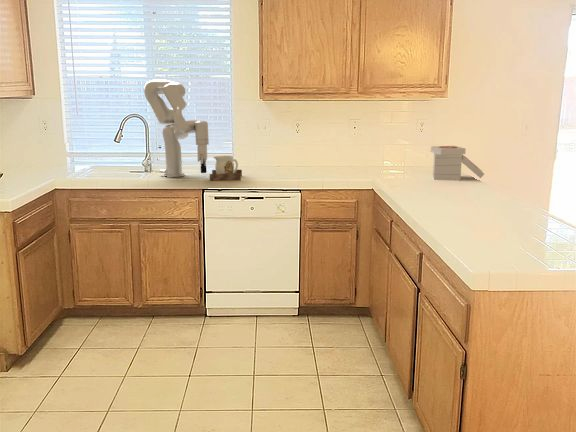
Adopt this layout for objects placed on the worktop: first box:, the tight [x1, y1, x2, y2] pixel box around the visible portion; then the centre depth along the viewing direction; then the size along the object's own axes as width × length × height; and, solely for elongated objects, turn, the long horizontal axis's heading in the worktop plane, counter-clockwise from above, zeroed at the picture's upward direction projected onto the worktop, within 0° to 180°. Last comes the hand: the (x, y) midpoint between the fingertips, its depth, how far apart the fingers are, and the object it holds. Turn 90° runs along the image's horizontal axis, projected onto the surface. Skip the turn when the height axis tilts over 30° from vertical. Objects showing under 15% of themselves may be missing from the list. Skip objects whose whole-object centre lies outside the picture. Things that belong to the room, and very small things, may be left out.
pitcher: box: [212, 155, 239, 174], centre depth 355 cm, size 11×18×14 cm, turn 135°
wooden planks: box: [209, 169, 243, 182], centre depth 356 cm, size 18×17×4 cm
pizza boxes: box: [430, 145, 485, 181], centre depth 348 cm, size 19×30×18 cm, turn 79°
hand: (203, 172), depth 355 cm, fingers closed
